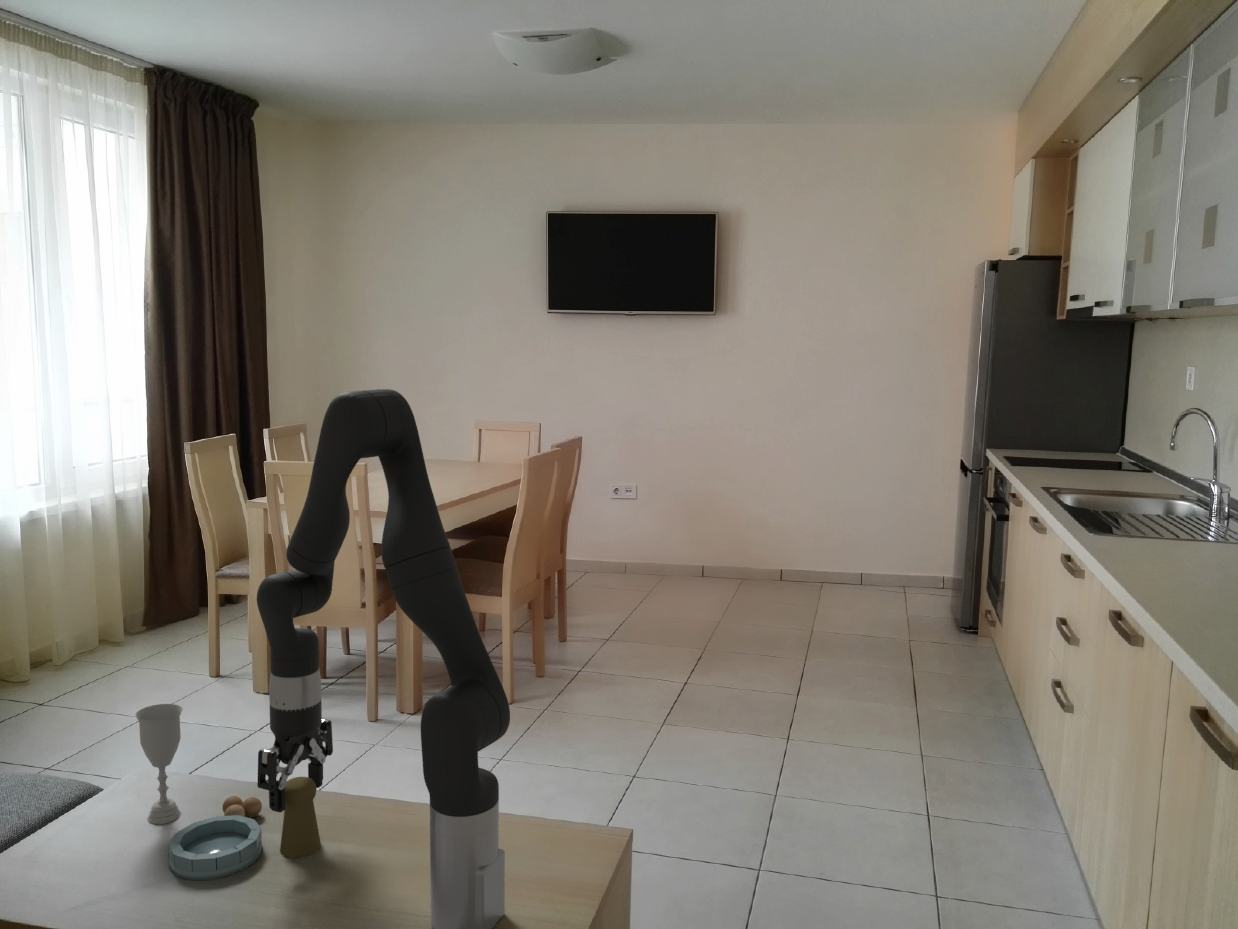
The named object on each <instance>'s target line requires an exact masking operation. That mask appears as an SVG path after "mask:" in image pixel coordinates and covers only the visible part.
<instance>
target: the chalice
mask: <svg viewBox="0 0 1238 929" xmlns="http://www.w3.org/2000/svg"><path fill="white" fill-rule="evenodd" d="M183 710H184V709H183V707H182V706H180V705H178V704H173V703H160V704H154V705H149V706H145V707H143V708H141V709H139V710H138V711H136V713H135V718H136V719H137V720H138V726H139V743H140V746H141V747H142V750H143V753H144V755H145V756H146V758H147V759H148V761H149V762H150V764H151V766H152V767H154V768H158V776H157V778H156V780H158V782H159V786H158V787H157V791H158V792H159V794H160V795H159V796H160V797H159V799H157V801H156V802H154V803H153V804H152V806H151V808H150V809H151V810H150V811H149V815H148V816H147V818H146V820H147V822H148V821H149V822H148V823H149V824H153V825H154V824H155V825H160V824H162V825H163V824H167V823H170V822H173V821H176V820H178V819H179V818H180V817H181V815H182V811H181V810H180V809H179V806H178V804H177V803H176V801H174V800H173V799H171V798H168V796H167V791H168V789H170V786H168V785H167V783H166V782H167V779H168V775H167V774H166V773H167V772H166V767H168V766H170V765H171V763H172V762H173V760H174V757H175V755H176V753H177V750H178V748H179V745H180V741H181V739H182V738H181V736H182V735H181V718H180V716H181V714H182V712H183Z"/></svg>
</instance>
